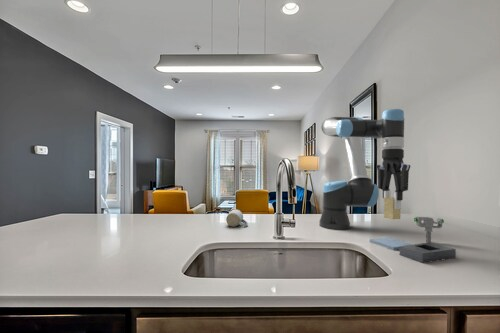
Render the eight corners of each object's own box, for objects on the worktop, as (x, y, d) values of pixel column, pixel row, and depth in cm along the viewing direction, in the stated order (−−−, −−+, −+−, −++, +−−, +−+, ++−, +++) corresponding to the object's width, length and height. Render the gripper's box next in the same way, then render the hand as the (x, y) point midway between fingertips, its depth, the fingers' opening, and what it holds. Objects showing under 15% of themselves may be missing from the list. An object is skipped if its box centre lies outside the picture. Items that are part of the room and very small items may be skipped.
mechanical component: (444, 244, 100) (444, 219, 101) (416, 242, 103) (416, 217, 103) (440, 242, 103) (440, 217, 104) (413, 240, 105) (413, 216, 106)
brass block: (383, 217, 100) (384, 197, 100) (391, 217, 101) (391, 197, 101) (392, 219, 96) (392, 198, 96) (400, 218, 97) (400, 198, 98)
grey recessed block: (399, 254, 87) (399, 246, 87) (431, 250, 92) (431, 242, 92) (422, 263, 79) (422, 253, 79) (455, 257, 85) (455, 248, 85)
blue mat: (369, 241, 102) (369, 239, 102) (389, 239, 106) (389, 237, 106) (393, 250, 92) (393, 247, 92) (414, 247, 95) (414, 244, 95)
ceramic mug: (225, 227, 123) (225, 211, 124) (228, 223, 132) (229, 208, 132) (246, 228, 122) (246, 212, 122) (248, 224, 130) (249, 210, 130)
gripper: (368, 149, 106) (367, 205, 105) (405, 146, 90) (405, 211, 89) (381, 150, 108) (381, 204, 108) (420, 147, 92) (420, 210, 92)
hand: (392, 207), depth 99 cm, fingers closed on brass block, 4 cm apart
